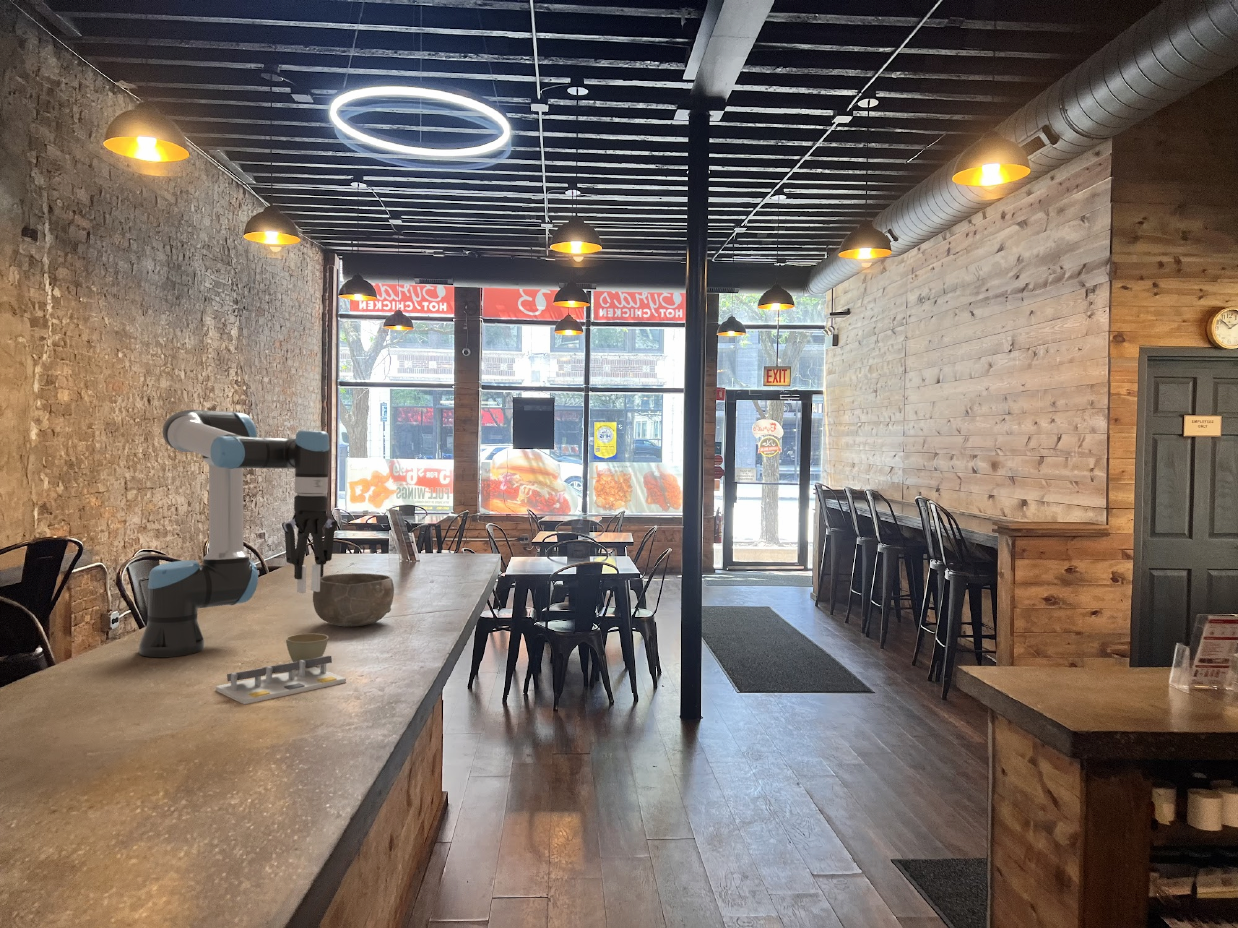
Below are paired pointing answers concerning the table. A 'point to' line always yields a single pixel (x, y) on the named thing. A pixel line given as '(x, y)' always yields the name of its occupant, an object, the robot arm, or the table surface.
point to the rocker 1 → (248, 674)
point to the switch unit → (279, 683)
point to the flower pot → (306, 646)
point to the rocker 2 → (284, 667)
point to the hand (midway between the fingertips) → (308, 591)
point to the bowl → (353, 598)
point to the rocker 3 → (317, 661)
